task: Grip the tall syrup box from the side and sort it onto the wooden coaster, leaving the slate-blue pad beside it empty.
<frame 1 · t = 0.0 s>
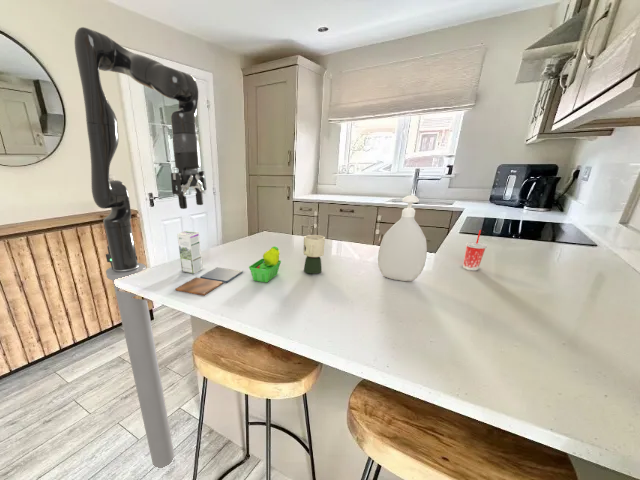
hand: (192, 206, 98), 25 cm above the countertop, tool pointing down, fingers open, 8 cm apart
soap bottle: (398, 278, 104), on the countertop
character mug: (312, 273, 110), on the countertop
wooden coaster: (199, 286, 100), on the countertop
beverage cup: (470, 268, 111), on the countertop
slate pad: (221, 275, 110), on the countertop
syrup box: (192, 271, 115), on the countertop
fruit basket: (267, 278, 107), on the countertop
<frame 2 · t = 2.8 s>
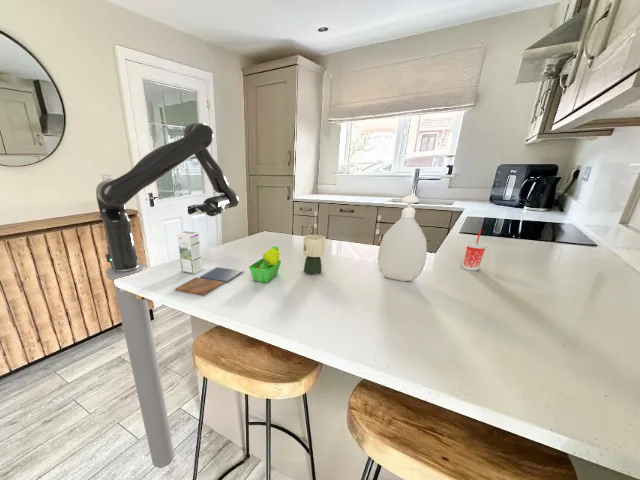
hand: (199, 211, 117), 20 cm above the countertop, tool horizontal, fingers open, 8 cm apart
nothing on the countertop moved.
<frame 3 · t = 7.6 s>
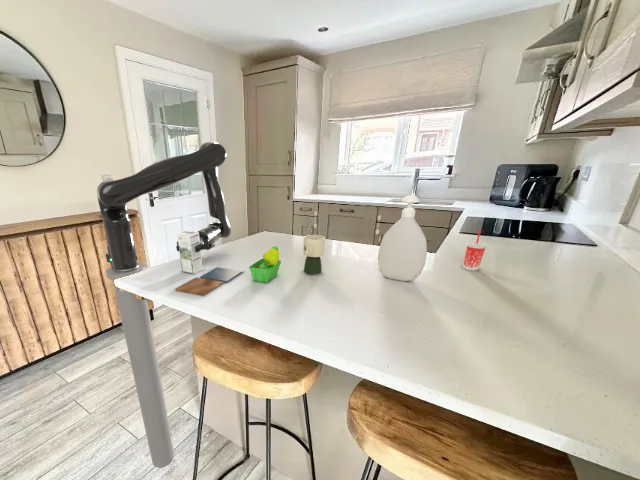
hand: (186, 249, 110), 9 cm above the countertop, tool horizontal, fingers closed on syrup box, 6 cm apart
syrup box: (192, 271, 115), on the countertop, touching gripper
everything else where it was.
when the fingers open (10 cm above the countertop, at t = 16.3 s): syrup box stays where it is, resting on wooden coaster.
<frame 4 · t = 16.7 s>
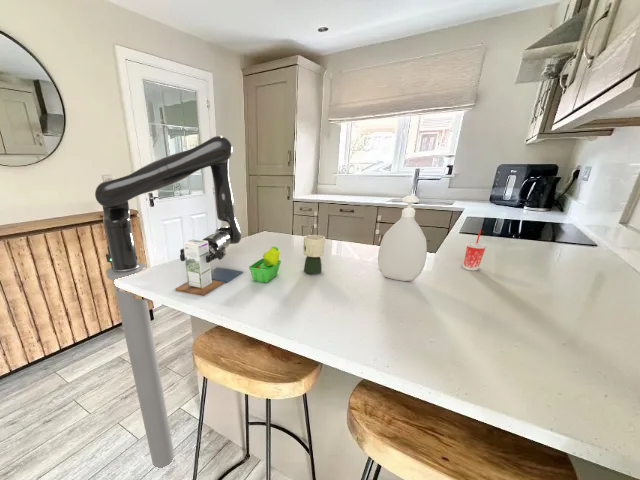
hand: (194, 258, 95), 10 cm above the countertop, tool horizontal, fingers open, 8 cm apart
syrup box: (200, 285, 100), resting on wooden coaster
everything else where it was.
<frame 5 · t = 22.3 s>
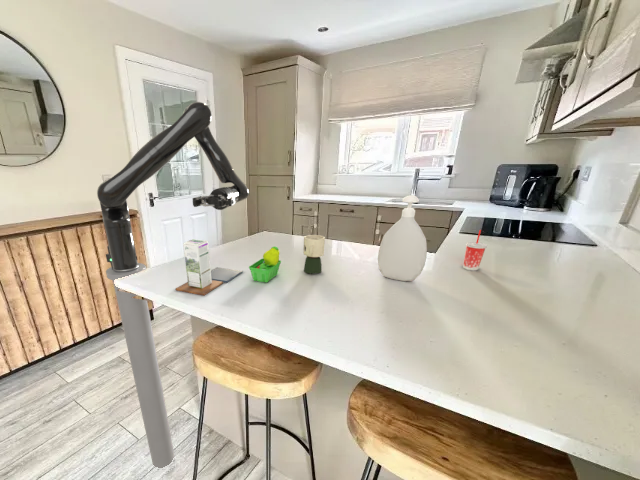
hand: (206, 203, 101), 25 cm above the countertop, tool horizontal, fingers open, 8 cm apart
nothing on the countertop moved.
at the end: syrup box inside the target area (0.2 cm from its centre), resting on wooden coaster; syrup box tilted 0°; the gripper is holding nothing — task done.
